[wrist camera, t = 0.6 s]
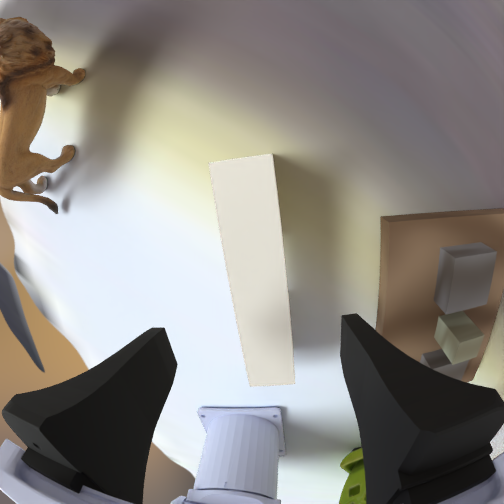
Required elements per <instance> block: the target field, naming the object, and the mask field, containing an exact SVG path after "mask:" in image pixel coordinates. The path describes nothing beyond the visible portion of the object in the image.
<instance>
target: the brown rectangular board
mask: <svg viewBox="0 0 504 504" xmlns="http://www.w3.org/2000/svg"><path fill="white" fill-rule="evenodd" d="M503 288H504V208H502V209H483V210H466V211H450V212H435V213H421V214H408V215H395V216H383V217H381V258H380V283H379V299H378V311H377V322H376V331H377V332H378V333H379V334H380V335H381V336H383V337H384V338H385V339H386V340H388V341H389V342H390V343H391V344H393V345H394V346H395V347H397V348H398V349H400V350H401V351H402V352H404V353H405V354H407V355H408V356H410V357H411V358H413V359H415V360H416V361H418V362H420V363H422V364H423V365H425V366H427V367H429V368H431V369H433V370H435V371H438V372H440V373H442V374H444V375H447V376H449V377H452V378H454V379H457V380H460V381H464V382H469V381H472V380H473V378H474V376H475V374H476V371H477V369H478V367H479V364H480V362H481V359H482V357H483V354H484V351H485V349H486V346H487V343H488V340H489V337H490V335H491V331H492V328H493V325H494V322H495V319H496V315H497V312H498V308H499V305H500V301H501V297H502V293H503Z"/></svg>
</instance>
